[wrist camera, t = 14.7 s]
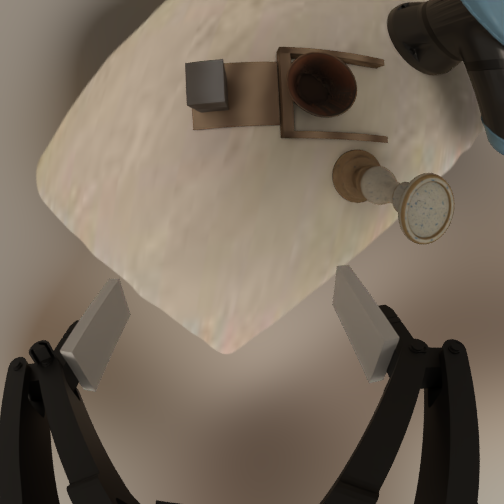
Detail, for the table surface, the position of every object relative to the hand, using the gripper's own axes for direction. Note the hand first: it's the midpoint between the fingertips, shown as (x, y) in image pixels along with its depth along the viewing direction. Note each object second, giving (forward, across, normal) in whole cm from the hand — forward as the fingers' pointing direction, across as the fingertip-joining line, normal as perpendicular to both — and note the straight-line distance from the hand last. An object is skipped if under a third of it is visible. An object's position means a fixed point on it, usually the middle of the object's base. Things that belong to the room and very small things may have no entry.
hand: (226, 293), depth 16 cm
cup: (+29, +12, +15) cm, 35 cm away
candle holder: (+29, +20, +2) cm, 35 cm away
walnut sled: (+29, +9, +15) cm, 34 cm away
